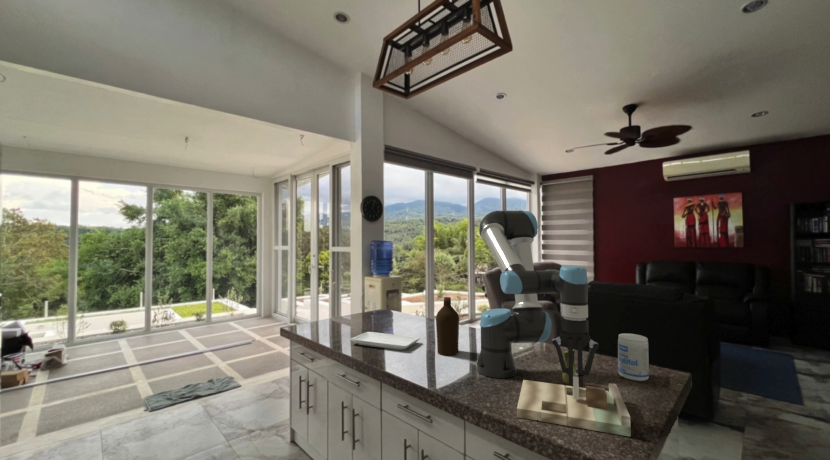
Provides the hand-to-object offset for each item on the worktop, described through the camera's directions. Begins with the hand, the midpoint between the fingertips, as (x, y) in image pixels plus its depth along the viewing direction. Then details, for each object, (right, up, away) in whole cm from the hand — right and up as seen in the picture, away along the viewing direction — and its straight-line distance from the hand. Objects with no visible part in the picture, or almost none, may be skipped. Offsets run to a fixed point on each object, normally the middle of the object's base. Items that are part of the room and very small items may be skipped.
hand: (575, 397), depth 103 cm
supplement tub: (+33, -4, +24) cm, 41 cm away
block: (+5, -1, -3) cm, 5 cm away
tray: (-63, -7, +68) cm, 93 cm away
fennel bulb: (+6, -4, +17) cm, 19 cm away
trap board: (-2, -3, 0) cm, 4 cm away
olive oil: (-33, -6, +54) cm, 63 cm away
